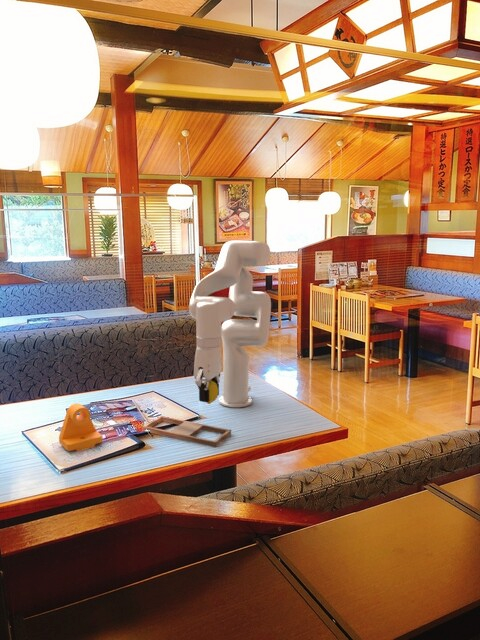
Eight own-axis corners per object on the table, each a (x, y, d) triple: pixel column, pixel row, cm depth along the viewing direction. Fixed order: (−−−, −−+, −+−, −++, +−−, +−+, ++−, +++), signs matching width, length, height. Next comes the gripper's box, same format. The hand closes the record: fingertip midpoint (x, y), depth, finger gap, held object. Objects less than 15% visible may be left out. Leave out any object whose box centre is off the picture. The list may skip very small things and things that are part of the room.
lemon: (215, 407, 156) (215, 382, 154) (198, 406, 157) (198, 381, 155) (219, 401, 161) (220, 377, 159) (203, 399, 162) (202, 375, 160)
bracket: (68, 453, 148) (66, 414, 146) (59, 445, 153) (57, 407, 151) (103, 444, 154) (101, 406, 152) (93, 436, 160) (92, 400, 158)
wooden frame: (161, 420, 174) (160, 415, 174) (231, 434, 163) (231, 430, 162) (142, 431, 164) (142, 426, 164) (215, 447, 153) (215, 442, 153)
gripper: (211, 334, 164) (211, 387, 168) (183, 346, 149) (184, 405, 152) (232, 337, 161) (232, 391, 165) (205, 350, 146) (206, 409, 149)
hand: (209, 397), depth 158 cm, fingers closed on lemon, 5 cm apart
